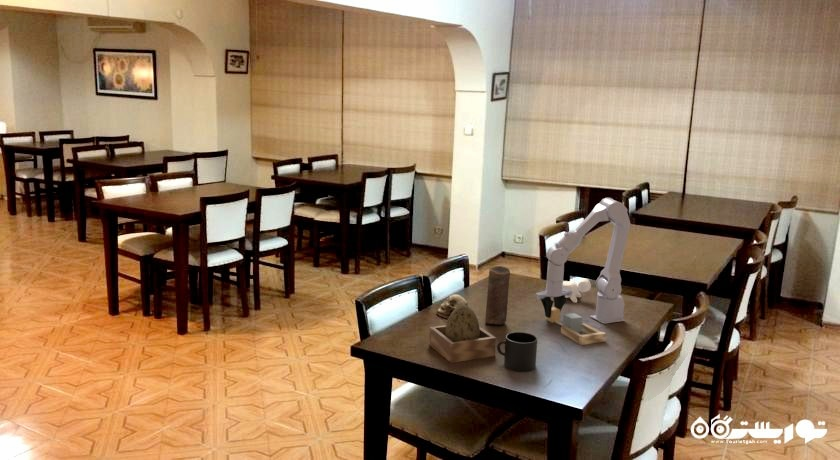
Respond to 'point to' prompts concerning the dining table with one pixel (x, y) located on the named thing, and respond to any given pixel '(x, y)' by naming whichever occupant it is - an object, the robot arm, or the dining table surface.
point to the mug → (519, 351)
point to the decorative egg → (462, 324)
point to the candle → (497, 295)
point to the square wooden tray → (462, 345)
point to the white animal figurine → (576, 288)
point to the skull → (451, 305)
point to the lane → (588, 338)
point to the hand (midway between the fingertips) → (552, 316)
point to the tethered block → (566, 320)
